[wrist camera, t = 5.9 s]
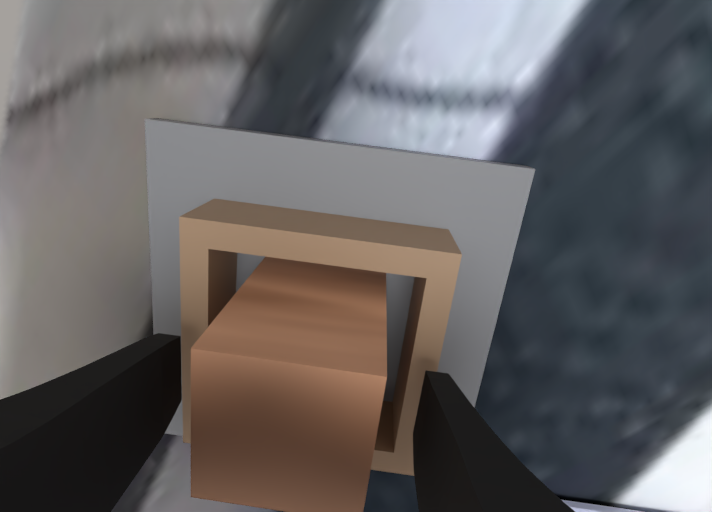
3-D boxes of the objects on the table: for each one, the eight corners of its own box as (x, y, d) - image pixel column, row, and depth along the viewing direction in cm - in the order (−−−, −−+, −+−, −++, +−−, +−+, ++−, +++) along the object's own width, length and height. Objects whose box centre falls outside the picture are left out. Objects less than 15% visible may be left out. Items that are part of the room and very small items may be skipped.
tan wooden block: (369, 372, 16) (361, 523, 10) (261, 356, 16) (190, 497, 10) (386, 270, 14) (386, 377, 9) (267, 253, 14) (190, 348, 9)
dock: (453, 459, 18) (469, 535, 14) (167, 418, 18) (121, 484, 15) (526, 165, 14) (568, 182, 11) (157, 118, 14) (92, 120, 11)
